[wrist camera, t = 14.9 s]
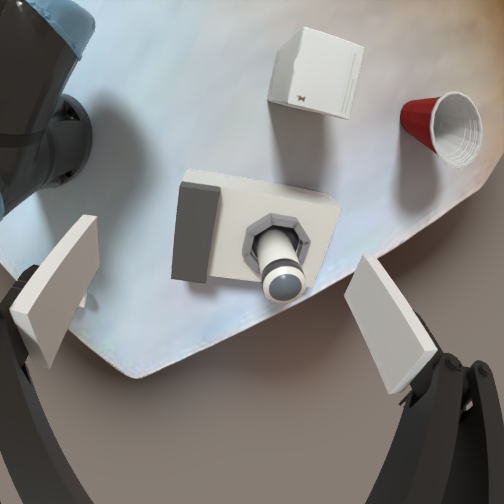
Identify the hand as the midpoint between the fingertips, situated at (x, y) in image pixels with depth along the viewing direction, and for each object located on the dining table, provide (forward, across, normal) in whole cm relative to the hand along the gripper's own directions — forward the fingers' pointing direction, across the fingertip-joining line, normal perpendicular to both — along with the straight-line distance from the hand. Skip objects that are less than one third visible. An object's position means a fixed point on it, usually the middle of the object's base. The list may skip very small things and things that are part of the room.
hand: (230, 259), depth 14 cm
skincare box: (+31, +7, +11) cm, 34 cm away
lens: (+25, +9, -12) cm, 29 cm away
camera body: (+31, +6, -12) cm, 34 cm away
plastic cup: (+31, +28, +12) cm, 43 cm away
